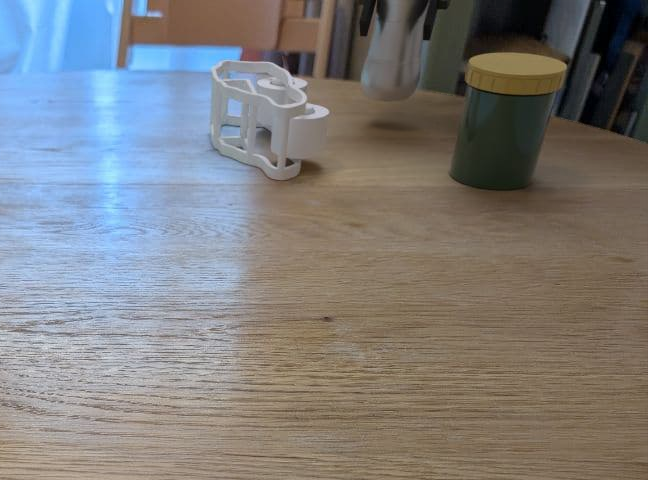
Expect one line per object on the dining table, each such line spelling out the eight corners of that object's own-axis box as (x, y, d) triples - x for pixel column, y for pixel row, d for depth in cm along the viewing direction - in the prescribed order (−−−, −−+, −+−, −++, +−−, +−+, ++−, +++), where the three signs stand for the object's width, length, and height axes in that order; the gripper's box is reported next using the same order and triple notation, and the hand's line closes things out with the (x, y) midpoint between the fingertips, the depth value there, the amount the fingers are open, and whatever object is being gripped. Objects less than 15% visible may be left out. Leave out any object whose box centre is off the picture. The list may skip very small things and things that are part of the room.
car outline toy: (331, 179, 87) (340, 106, 83) (224, 182, 87) (228, 109, 83) (294, 120, 104) (300, 57, 99) (204, 123, 104) (206, 60, 99)
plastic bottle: (346, 96, 102) (373, -97, 90) (396, 90, 104) (427, -100, 92) (376, 110, 97) (407, -91, 85) (427, 104, 99) (465, -95, 87)
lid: (559, 74, 83) (564, 55, 82) (564, 98, 77) (570, 77, 76) (465, 69, 86) (469, 50, 85) (463, 91, 80) (467, 71, 78)
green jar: (531, 166, 89) (559, 61, 83) (534, 193, 83) (564, 82, 76) (450, 159, 91) (472, 56, 85) (447, 185, 85) (470, 76, 79)
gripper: (529, -129, 96) (483, 57, 93) (358, -129, 102) (311, 45, 100) (540, -186, 89) (491, 14, 86) (355, -181, 95) (304, 4, 93)
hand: (394, 30), depth 93 cm, fingers closed on plastic bottle, 6 cm apart
